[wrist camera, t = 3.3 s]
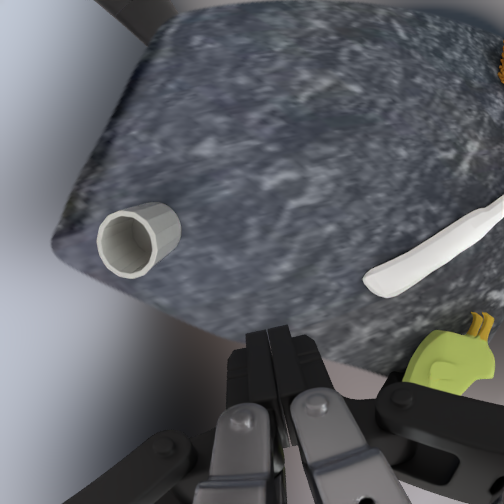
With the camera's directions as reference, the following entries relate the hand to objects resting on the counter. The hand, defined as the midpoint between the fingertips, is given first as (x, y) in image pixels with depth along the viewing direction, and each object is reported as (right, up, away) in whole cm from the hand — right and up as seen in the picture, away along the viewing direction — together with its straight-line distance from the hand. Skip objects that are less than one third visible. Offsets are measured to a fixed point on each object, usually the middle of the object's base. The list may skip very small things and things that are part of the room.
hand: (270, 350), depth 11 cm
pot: (-11, +6, +22) cm, 25 cm away
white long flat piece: (+24, +6, +20) cm, 32 cm away
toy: (+28, -3, +20) cm, 34 cm away
